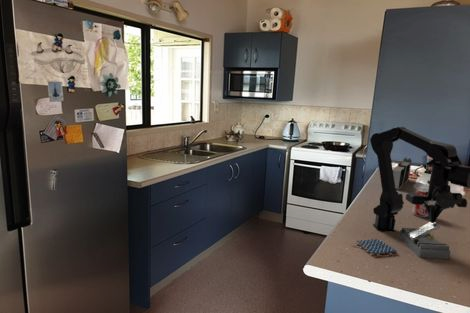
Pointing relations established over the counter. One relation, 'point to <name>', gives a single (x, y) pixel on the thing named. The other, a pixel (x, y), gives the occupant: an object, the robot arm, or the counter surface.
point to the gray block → (423, 230)
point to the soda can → (420, 209)
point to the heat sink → (425, 245)
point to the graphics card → (402, 173)
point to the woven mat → (376, 248)
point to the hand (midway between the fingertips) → (432, 222)
